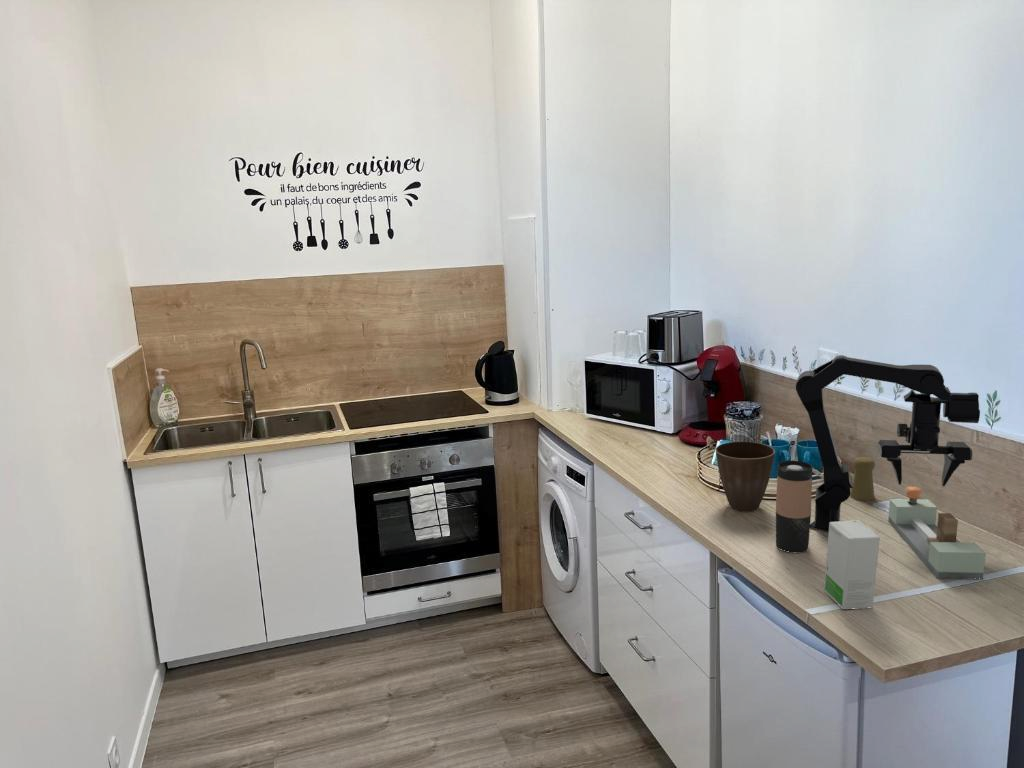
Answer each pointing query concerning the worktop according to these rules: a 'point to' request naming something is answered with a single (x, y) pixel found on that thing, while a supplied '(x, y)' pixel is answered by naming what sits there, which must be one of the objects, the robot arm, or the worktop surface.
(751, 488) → the plant pot
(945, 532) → the carriage
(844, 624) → the worktop surface
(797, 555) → the worktop surface
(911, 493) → the orange knob
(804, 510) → the travel mug
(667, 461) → the worktop surface
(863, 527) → the skincare box
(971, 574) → the rail bench
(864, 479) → the cork
